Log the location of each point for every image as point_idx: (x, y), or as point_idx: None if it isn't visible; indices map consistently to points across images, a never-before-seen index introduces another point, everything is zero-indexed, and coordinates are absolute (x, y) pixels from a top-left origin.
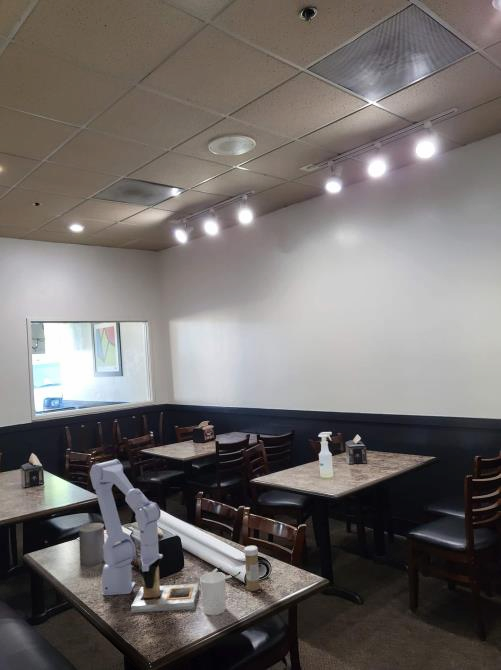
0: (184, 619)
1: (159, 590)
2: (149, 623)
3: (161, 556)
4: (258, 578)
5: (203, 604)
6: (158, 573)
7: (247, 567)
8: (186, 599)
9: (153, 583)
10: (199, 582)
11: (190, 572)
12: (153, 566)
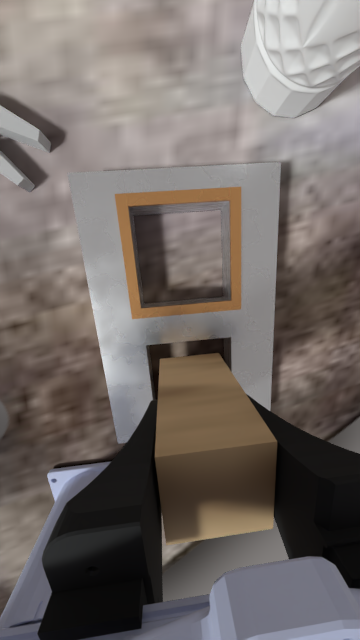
0: (340, 203)
1: (167, 359)
2: (337, 331)
3: (356, 614)
4: None
5: (330, 85)
6: (176, 413)
7: None
8: (246, 208)
9: (253, 400)
10: (21, 184)
11: None
12: (336, 515)
